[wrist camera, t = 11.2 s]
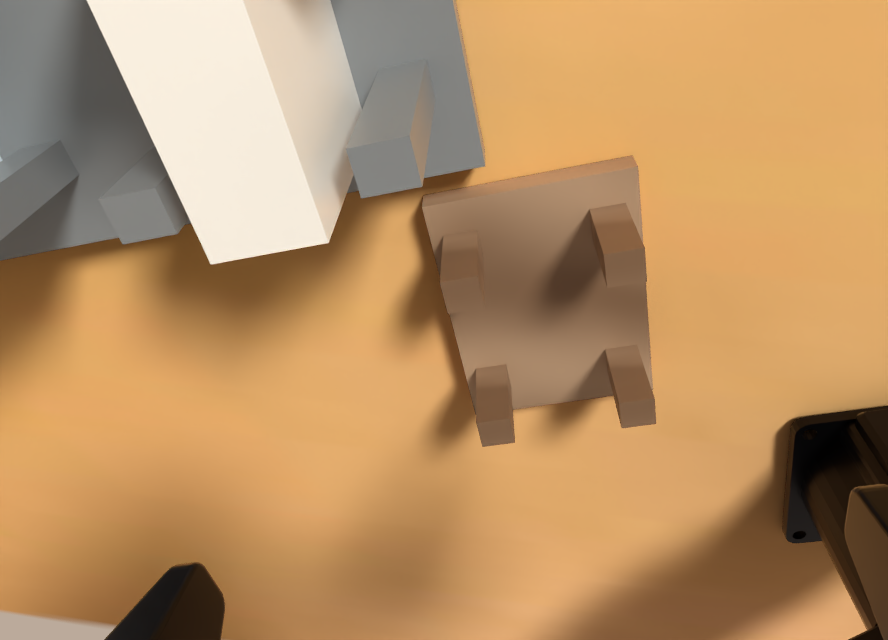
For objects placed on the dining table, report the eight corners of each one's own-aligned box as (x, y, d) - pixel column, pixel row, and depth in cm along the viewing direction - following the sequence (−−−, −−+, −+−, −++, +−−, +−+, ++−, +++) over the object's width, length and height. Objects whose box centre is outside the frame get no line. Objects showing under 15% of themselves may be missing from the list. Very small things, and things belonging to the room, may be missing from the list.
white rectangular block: (368, 133, 18) (328, 243, 13) (281, 151, 18) (210, 264, 13) (274, -196, 14) (166, -216, 9) (166, -164, 14) (7, -168, 10)
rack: (484, 149, 19) (489, 269, 14) (-71, 259, 22) (-249, 395, 17) (393, -321, 14) (341, -428, 8) (-331, -98, 17) (-724, -69, 11)
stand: (647, 374, 24) (671, 445, 21) (475, 399, 25) (476, 470, 22) (632, 155, 19) (659, 208, 16) (423, 195, 20) (415, 251, 17)
